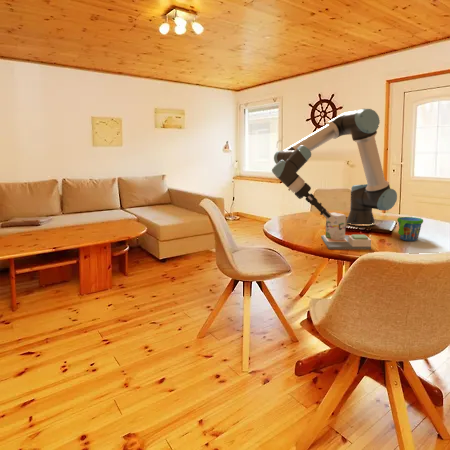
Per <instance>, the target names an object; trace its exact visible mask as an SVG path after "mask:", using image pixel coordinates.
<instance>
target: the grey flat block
mask: <svg viewBox="0 0 450 450" xmlns="http://www.w3.org/2000/svg"><path fill="white" fill-rule="evenodd" d="M352 235H353V234H351V235H350V234H349V235H346V234H345V239H343V240H334V239H331V238H328V237H326V234H323V235H320V236H321V240H322V242H323V243H324V244H325V246H326V248H327V249H328V250H372V239H371V238H369V237H368V239H353V238H352Z"/></svg>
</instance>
